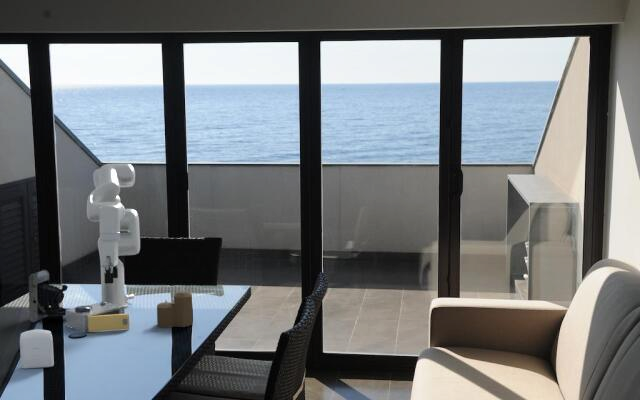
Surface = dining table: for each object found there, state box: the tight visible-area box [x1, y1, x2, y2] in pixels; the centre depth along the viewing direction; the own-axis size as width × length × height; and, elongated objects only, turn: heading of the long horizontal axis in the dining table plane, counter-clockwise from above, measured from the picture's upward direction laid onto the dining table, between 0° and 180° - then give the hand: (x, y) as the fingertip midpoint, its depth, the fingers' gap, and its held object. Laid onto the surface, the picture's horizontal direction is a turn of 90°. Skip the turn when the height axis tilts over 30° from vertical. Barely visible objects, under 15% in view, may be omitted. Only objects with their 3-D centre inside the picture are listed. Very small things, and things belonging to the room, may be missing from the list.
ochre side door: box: [84, 313, 130, 334], centre depth 301 cm, size 16×2×7 cm, turn 105°
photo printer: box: [19, 329, 55, 369], centre depth 259 cm, size 10×4×12 cm, turn 100°
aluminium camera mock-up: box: [65, 301, 126, 333], centre depth 311 cm, size 18×13×8 cm
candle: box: [156, 286, 193, 329], centre depth 311 cm, size 14×14×15 cm
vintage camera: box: [28, 269, 69, 323], centre depth 317 cm, size 10×15×20 cm, turn 78°
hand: (111, 280), depth 305 cm, fingers open, 9 cm apart
